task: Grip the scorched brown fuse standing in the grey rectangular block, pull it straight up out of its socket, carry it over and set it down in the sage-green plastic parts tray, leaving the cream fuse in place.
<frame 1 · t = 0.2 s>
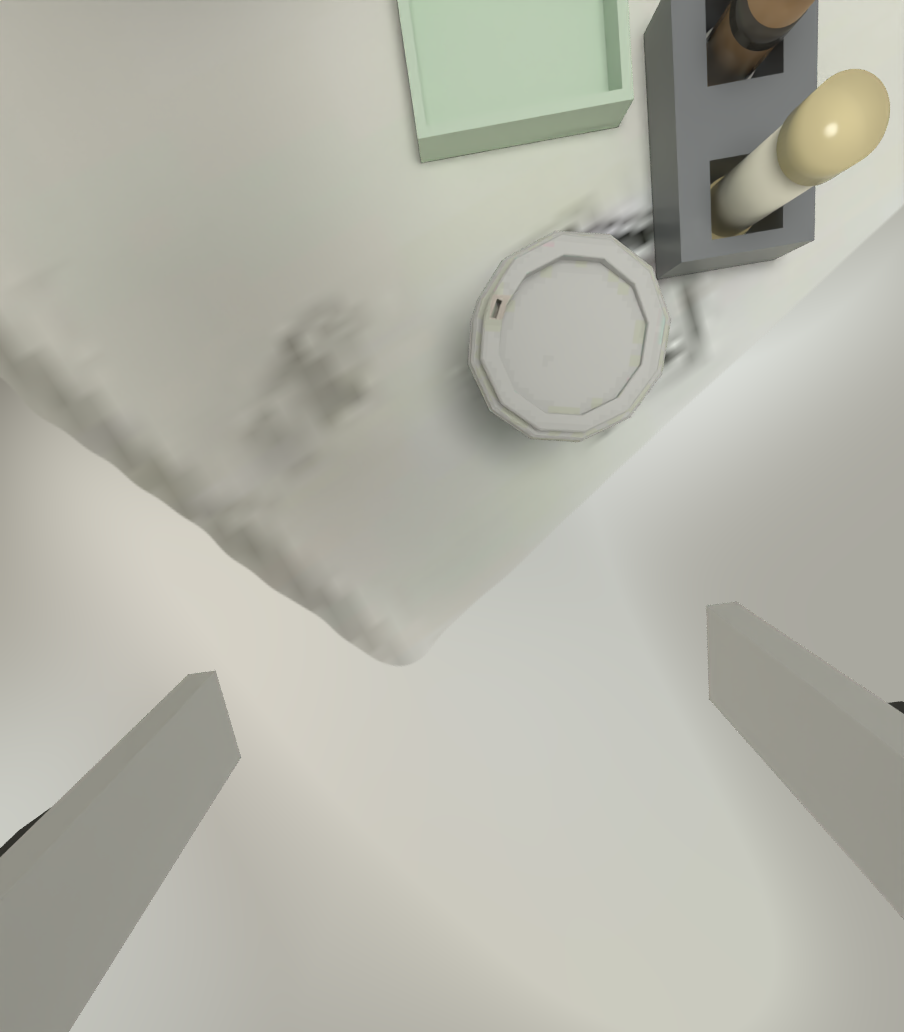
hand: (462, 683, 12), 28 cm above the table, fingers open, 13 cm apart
disposable coffee cup: (529, 367, 37), on the table
blown fuse: (710, 80, 32), resting in grey rectangular block
grey rectangular block: (712, 152, 33), on the table
parts tray: (509, 60, 32), on the table
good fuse: (713, 219, 34), resting in grey rectangular block
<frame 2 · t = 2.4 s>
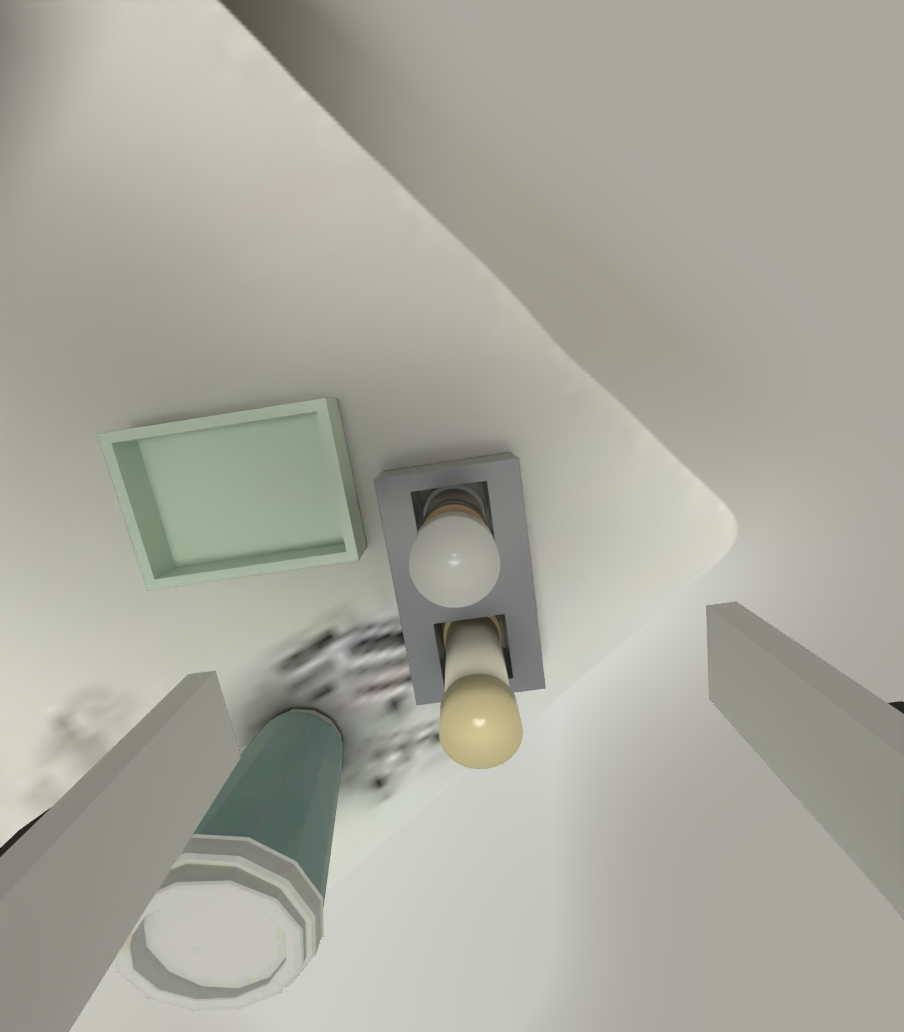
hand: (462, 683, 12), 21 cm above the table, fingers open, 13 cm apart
disposable coffee cup: (304, 742, 37), on the table
blown fuse: (454, 510, 33), resting in grey rectangular block
grey rectangular block: (463, 568, 34), on the table
parts tray: (252, 490, 32), on the table
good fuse: (471, 624, 35), resting in grey rectangular block
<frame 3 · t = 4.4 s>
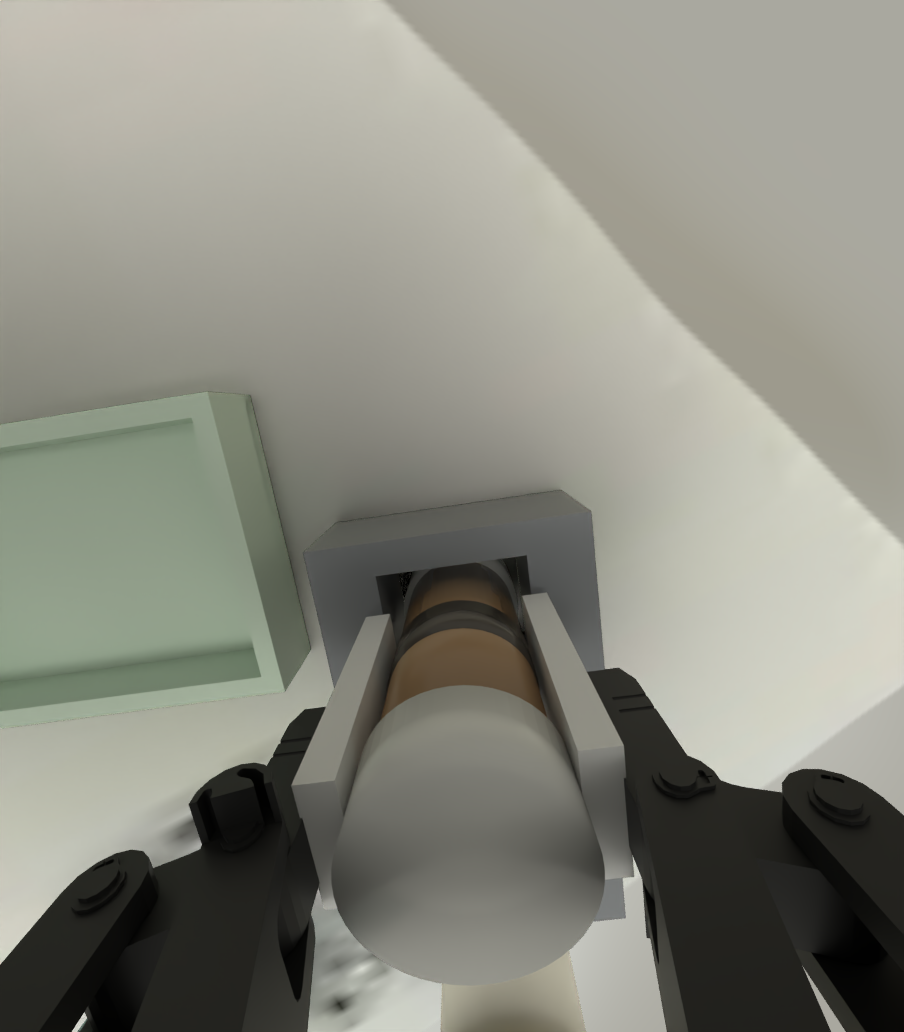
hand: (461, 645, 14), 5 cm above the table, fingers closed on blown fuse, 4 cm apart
blown fuse: (460, 588, 19), resting in grey rectangular block, touching gripper
grey rectangular block: (475, 685, 20), on the table
parts tray: (107, 555, 18), on the table
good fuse: (489, 773, 21), resting in grey rectangular block
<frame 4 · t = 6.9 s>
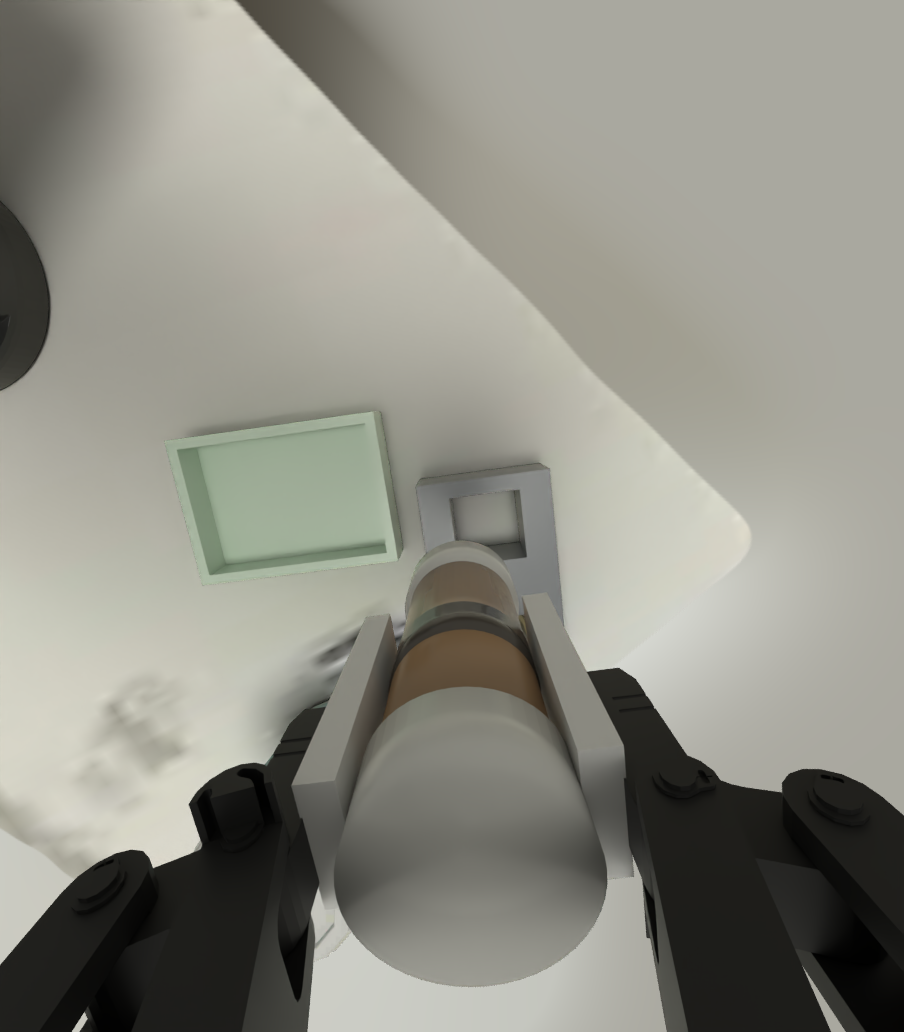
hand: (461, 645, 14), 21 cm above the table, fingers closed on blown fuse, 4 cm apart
disposable coffee cup: (337, 732, 39), on the table
blown fuse: (461, 589, 19), point 17 cm above the table, touching gripper
grey rectangular block: (492, 571, 36), on the table
parts tray: (298, 495, 35), on the table
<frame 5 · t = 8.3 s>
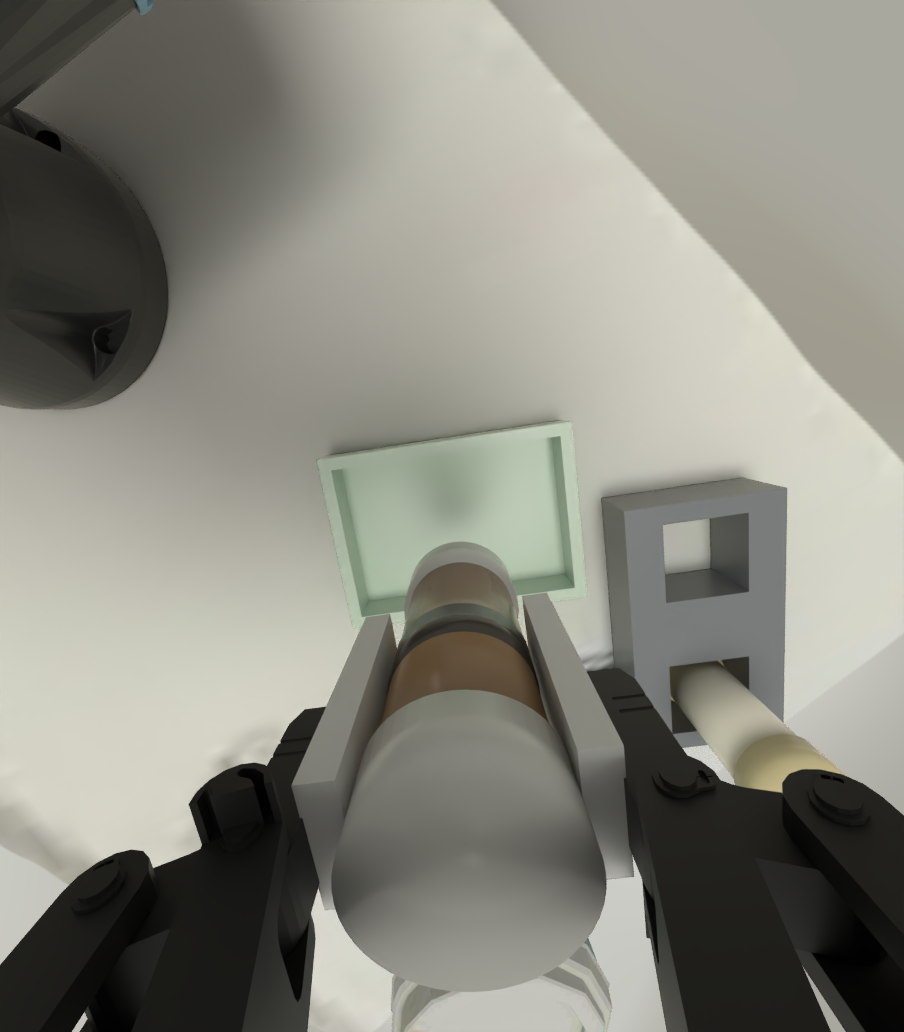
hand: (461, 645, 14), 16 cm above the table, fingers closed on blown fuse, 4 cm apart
disposable coffee cup: (483, 784, 35), on the table
blown fuse: (460, 590, 19), point 11 cm above the table, touching gripper
grey rectangular block: (676, 602, 31), on the table
parts tray: (456, 519, 30), on the table
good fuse: (678, 661, 32), resting in grey rectangular block
when the fingers open (7 cm above the table, at t = 9.5 s): blown fuse drops 2 cm, resting on parts tray.
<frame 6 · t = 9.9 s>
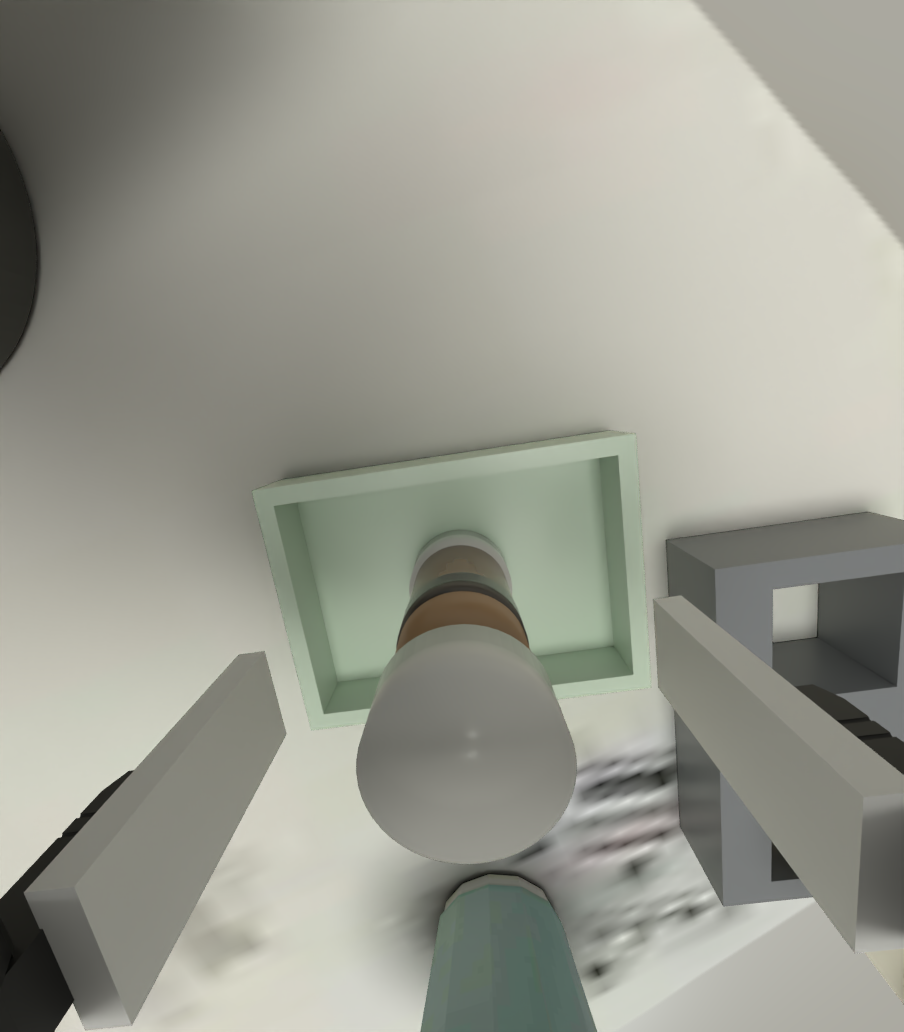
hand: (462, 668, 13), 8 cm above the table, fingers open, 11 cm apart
disposable coffee cup: (495, 915, 26), on the table
blown fuse: (460, 575, 20), point 1 cm above the table, touching parts tray
grey rectangular block: (766, 682, 22), on the table
parts tray: (460, 568, 21), on the table
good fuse: (766, 760, 23), resting in grey rectangular block
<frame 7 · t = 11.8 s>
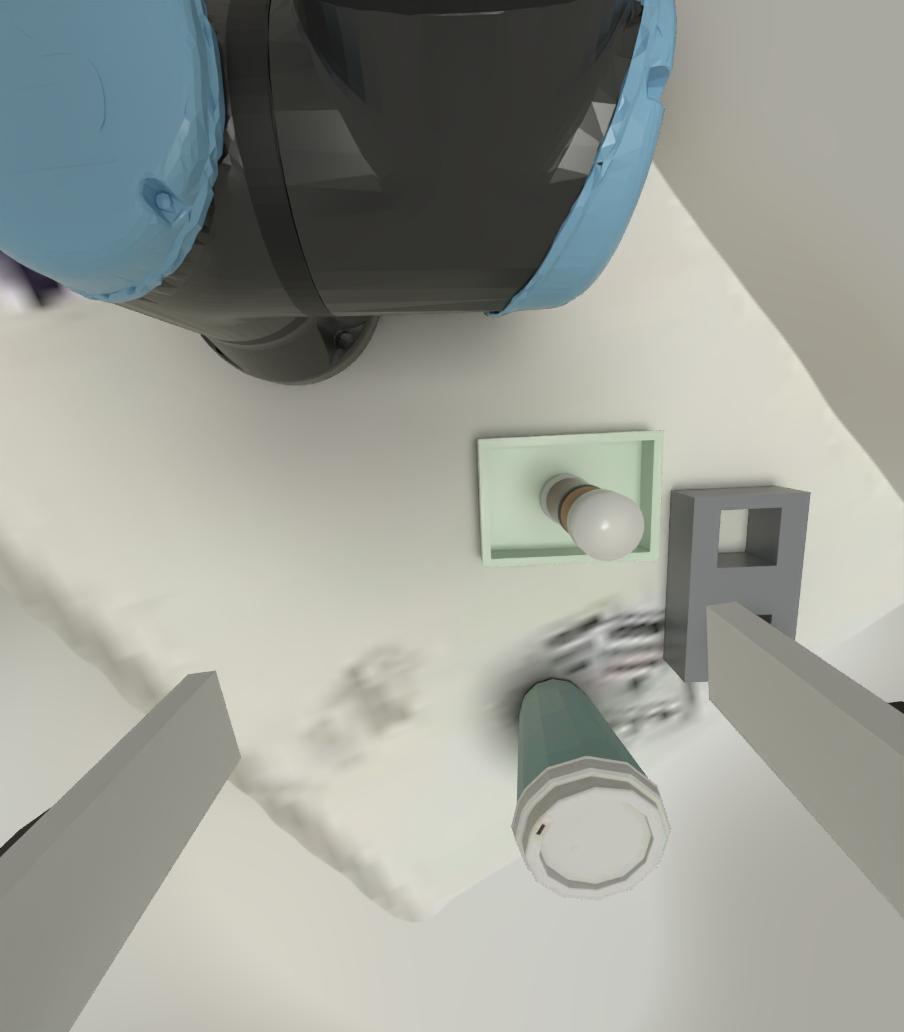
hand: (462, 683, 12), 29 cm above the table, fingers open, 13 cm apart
disposable coffee cup: (551, 709, 44), on the table
blown fuse: (563, 497, 39), point 1 cm above the table, touching parts tray
grey rectangular block: (717, 575, 41), on the table
parts tray: (562, 495, 40), on the table
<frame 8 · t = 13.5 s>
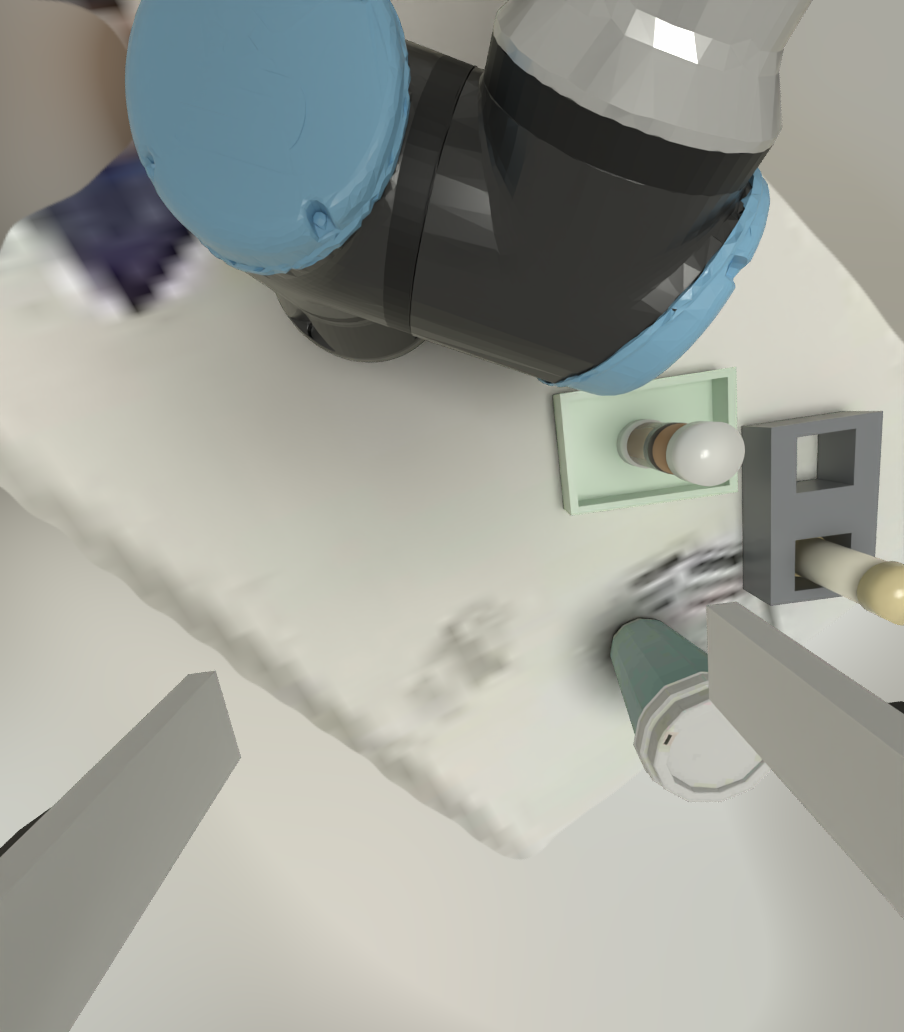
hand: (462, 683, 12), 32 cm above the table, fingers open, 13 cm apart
disposable coffee cup: (638, 647, 47), on the table
blown fuse: (639, 442, 41), point 1 cm above the table, touching parts tray
grey rectangular block: (790, 504, 43), on the table
parts tray: (637, 441, 42), on the table
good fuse: (790, 549, 44), resting in grey rectangular block
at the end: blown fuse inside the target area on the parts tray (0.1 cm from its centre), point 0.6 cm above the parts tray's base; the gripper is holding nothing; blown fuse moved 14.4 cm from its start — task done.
